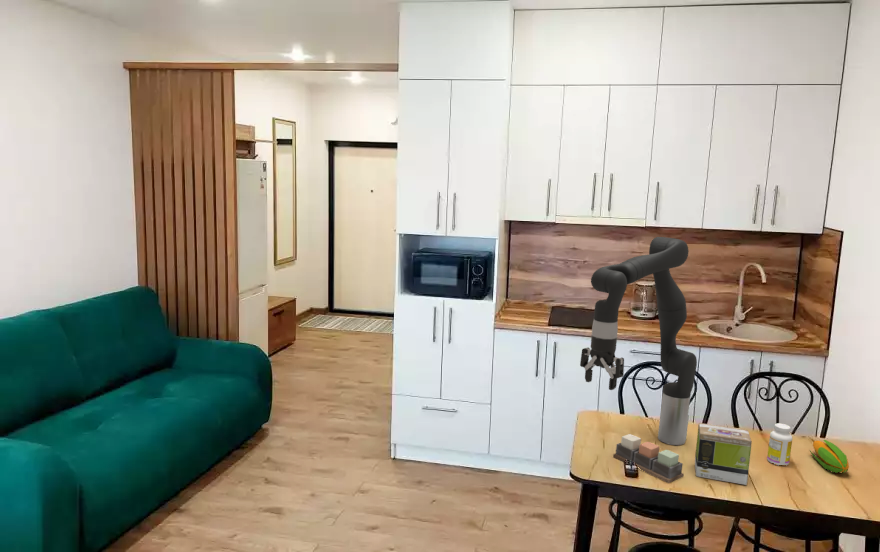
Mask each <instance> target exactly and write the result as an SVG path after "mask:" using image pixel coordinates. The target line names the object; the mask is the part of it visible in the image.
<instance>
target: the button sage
mask: <svg viewBox="0 0 880 552" xmlns="http://www.w3.org/2000/svg"><path fill="white" fill-rule="evenodd" d="M679 457H680V454H678V453H676V452H673V451H672V450H669V449H665V450H662V451H659V453H658V461H657V462H659V463H662V464H664V465H666V466H668V467H672V466H675V465H677V464H678V462H679Z"/></svg>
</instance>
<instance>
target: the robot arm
mask: <svg viewBox="0 0 880 552" xmlns="http://www.w3.org/2000/svg"><path fill="white" fill-rule="evenodd" d="M648 251H649V252H648V253H649V254H643V255H639V256H634V257H630V258H629V259H627V260H624V261H623V262H621V263H617V264H610V265H605V266H602V267H600V268H597V269H596V270H595V271H594V272H593V273H592V275H591V277H590V283H591V287H592V288H593V289H594V290H595V291H596V292H601V293H605V294H607V298H606V299H599V300H596V302H595V303H594V311H593V312H594V313H593V321H592V327H591V337H590V338H591V339H590V347H584V348H582V349H581V354H580V361H579V362H580V364H579V365H580V367H581V368H583V369H584V371H585V373H584V379H585V382H586V383H591V382H592V380H593V368H594V367H595V366H596V367H600V368H601V369H604V370H605V372H606V373H608V376H609V380H608V381H609V382H608V390H610V391H613V390H615V389H616V388H617V383H618V382H617V381H618V379H621V378H622V377H624V374H625V373H624V370H625V358H624V357H616V355H615V354H616V350H617V342H618V332H619V331H618V330H619V327H618V322H619V309H620V307H621V304H622V301H623V297H624V296H625V293H626V291H627V288H628V285H631V284H633V283H635V282H637V281H639V280H641V279H644V278H646V277H648V276H650V275H653V279H654V280H653V281H654V287H655V295H656V306H657V316H658V321H659V322H658V325H659V335H660V365H661V369H662V370H663V372H665V373H667V374H670V375H673V376H675V377H677V381H674V382H672V381H671V382H667V383H664V384H663V388H662V395H661V396H662V397H661V404H660V414H659V415H660V416H659V425H658V431H657V432H658V434H657V439H658V440H659V441H660V442H661V443H664V444H667V445H671V446H681V445H684V444H685V443H686V440H687V436H688V427H689V426H688V425H689V418H690V417H689V416H690V415H689V413H690V412H689V410H690V401H691V395H692V391H693V388H694V384H695V377H696V371H697V364H698V362H697V361H698V359H697V356H696V354H695V353H693V352H690V351H687V350H684V349H681V348H678V347H677V335H678V333H679V332H680V330H681V329H682V327H683V326H684V324H685V322H686V321H687V319H688V318H687V316H688V311H687V302H686V297H685V295H684V293H683V291H681V288H680V286H679V285H678V284H677V283H676V282H675V280H674V278H673V277H672V274H671V270H670V269H674V268H675V269H676V268H678V267H680V266H682V265H684V264H685V262H686V261H687V259H688V258H689V251H690V250H689V246H688V243H687V242H686V241H685V240H682V239H679V238H674V237H673V238H672V237H666V236H657V237H654V238H652V240H651V242H650V244H649V250H648ZM589 357H591V359H590V360H589Z"/></svg>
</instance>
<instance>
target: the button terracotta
mask: <svg viewBox="0 0 880 552" xmlns="http://www.w3.org/2000/svg"><path fill="white" fill-rule="evenodd" d="M660 448H661V447H660V445H658V444H655V443H652V442H650V441H645V442H643V443H642V442H641V444H640V446H639V454H642V455H644V456H646V457H648V458H654V457H656V456H658V453H659V452H660Z"/></svg>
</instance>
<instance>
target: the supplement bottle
mask: <svg viewBox="0 0 880 552" xmlns="http://www.w3.org/2000/svg"><path fill="white" fill-rule="evenodd" d="M790 432H791V426H789V425H788V424H785V423H779V422H778V423H775V424H774V430H771V432H770V433H769V434H770V435H769V441H768V449H767V455H766V458H767V461H768V462H770V464H772V463H774V464H773V465H775V464H777V465H776V466H779V465H786V466H788V465H790V459H791V452H792V444H793V436H792V434H790Z"/></svg>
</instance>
